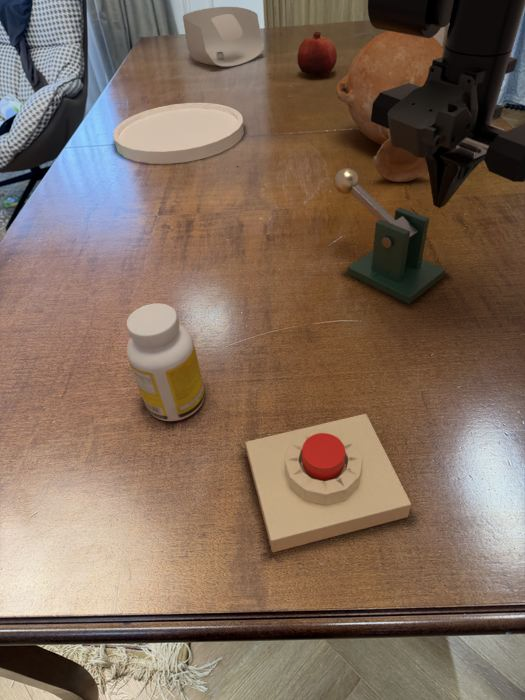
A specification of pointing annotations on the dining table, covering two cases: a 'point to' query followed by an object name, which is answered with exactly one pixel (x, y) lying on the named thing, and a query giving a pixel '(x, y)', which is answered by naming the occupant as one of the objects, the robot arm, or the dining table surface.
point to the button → (323, 456)
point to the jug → (383, 74)
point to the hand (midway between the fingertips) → (439, 205)
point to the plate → (178, 133)
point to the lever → (368, 199)
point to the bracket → (398, 260)
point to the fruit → (317, 55)
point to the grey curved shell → (223, 35)
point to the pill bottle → (164, 362)
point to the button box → (324, 485)
